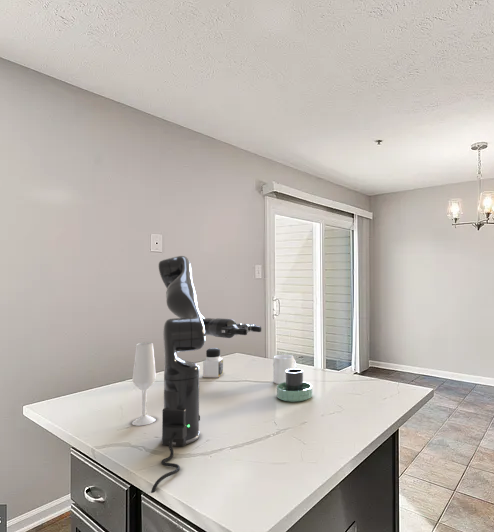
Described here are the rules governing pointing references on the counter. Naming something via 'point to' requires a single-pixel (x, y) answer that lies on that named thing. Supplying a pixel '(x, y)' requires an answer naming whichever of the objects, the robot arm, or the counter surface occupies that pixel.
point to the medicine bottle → (213, 363)
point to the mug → (282, 367)
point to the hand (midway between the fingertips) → (253, 330)
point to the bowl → (294, 393)
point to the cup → (294, 380)
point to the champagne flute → (144, 376)
